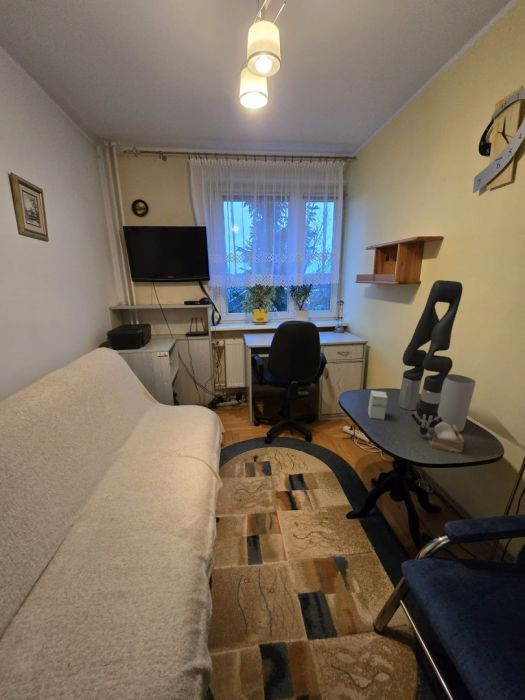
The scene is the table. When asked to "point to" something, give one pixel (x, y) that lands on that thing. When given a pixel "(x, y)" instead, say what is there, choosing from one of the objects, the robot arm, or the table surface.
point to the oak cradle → (446, 440)
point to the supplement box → (377, 404)
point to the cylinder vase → (456, 400)
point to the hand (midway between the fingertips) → (422, 433)
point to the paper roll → (445, 431)
